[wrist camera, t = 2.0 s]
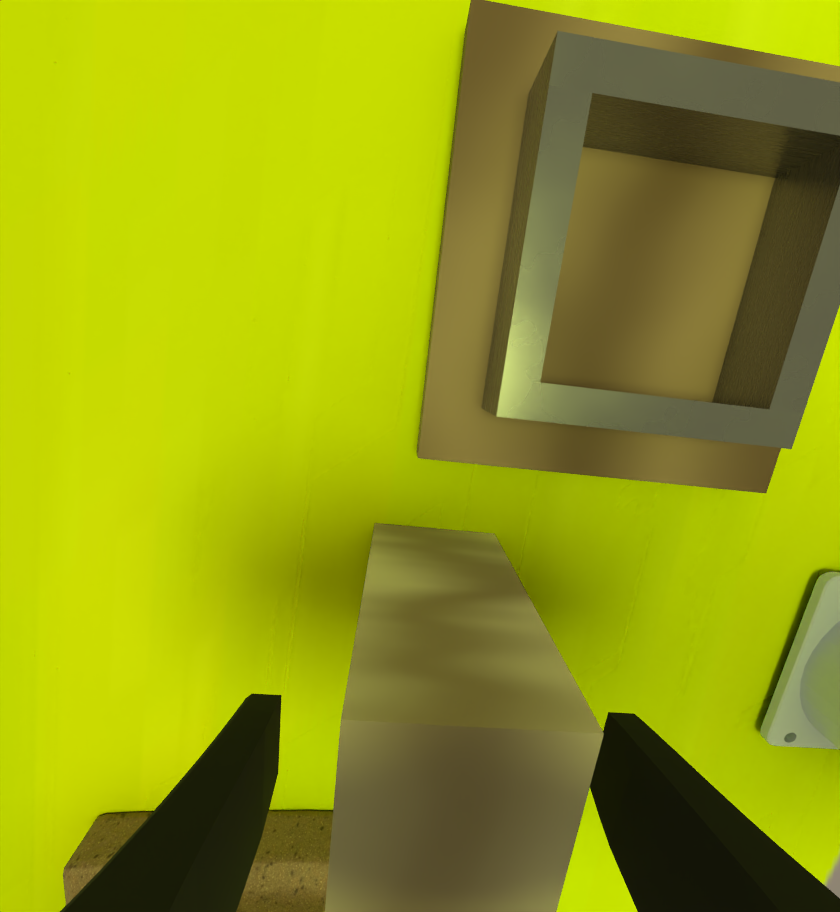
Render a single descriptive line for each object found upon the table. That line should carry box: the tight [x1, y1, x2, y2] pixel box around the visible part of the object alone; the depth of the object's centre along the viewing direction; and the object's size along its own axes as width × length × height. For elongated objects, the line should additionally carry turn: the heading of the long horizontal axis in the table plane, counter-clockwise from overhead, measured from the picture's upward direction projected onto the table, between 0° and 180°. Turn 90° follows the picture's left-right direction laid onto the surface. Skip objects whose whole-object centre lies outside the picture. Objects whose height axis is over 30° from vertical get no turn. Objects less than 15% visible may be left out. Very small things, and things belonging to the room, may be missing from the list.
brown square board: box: [417, 0, 840, 493], centre depth 12 cm, size 12×12×1 cm
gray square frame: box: [481, 31, 840, 449], centre depth 11 cm, size 8×8×2 cm
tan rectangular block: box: [325, 523, 604, 912], centre depth 11 cm, size 4×4×8 cm
